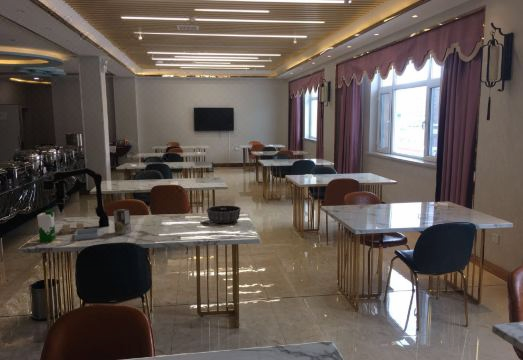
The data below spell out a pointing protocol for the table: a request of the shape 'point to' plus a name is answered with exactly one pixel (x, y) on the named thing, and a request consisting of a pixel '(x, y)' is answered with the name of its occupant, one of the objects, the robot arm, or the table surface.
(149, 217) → the table surface
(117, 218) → the coffee box
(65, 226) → the tan rectangular block
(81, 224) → the stone
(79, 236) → the slate bin
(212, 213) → the bundt pan
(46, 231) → the milk carton
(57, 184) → the robot arm
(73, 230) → the walnut caddy
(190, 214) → the table surface
